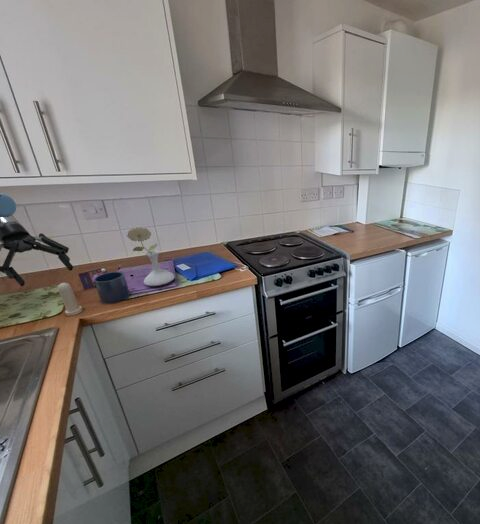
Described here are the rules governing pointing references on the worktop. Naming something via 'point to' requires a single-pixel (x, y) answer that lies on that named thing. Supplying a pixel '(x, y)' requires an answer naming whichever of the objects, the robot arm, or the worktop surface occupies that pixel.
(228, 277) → the worktop surface
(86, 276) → the purple printed box
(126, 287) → the cup
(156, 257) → the flower in vase
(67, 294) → the game piece
